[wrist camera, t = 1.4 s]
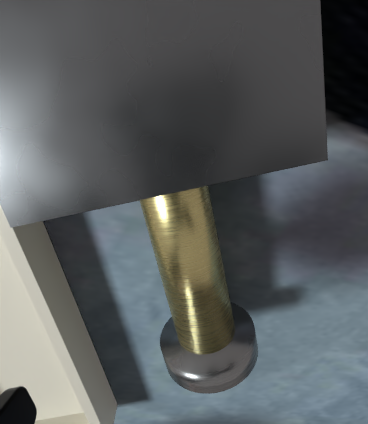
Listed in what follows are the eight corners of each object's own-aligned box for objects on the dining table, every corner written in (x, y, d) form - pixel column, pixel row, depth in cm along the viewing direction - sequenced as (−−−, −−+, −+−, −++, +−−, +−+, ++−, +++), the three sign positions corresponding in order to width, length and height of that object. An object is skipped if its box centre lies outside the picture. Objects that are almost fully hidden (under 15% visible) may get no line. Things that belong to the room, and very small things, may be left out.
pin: (245, 310, 16) (270, 383, 12) (167, 325, 16) (163, 401, 12) (202, 57, 12) (215, 23, 8) (96, 81, 12) (51, 63, 8)
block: (265, 141, 13) (328, 160, 8) (78, 181, 14) (10, 227, 8) (239, -76, 10) (306, -283, 5) (10, -16, 11) (-159, -147, 5)
